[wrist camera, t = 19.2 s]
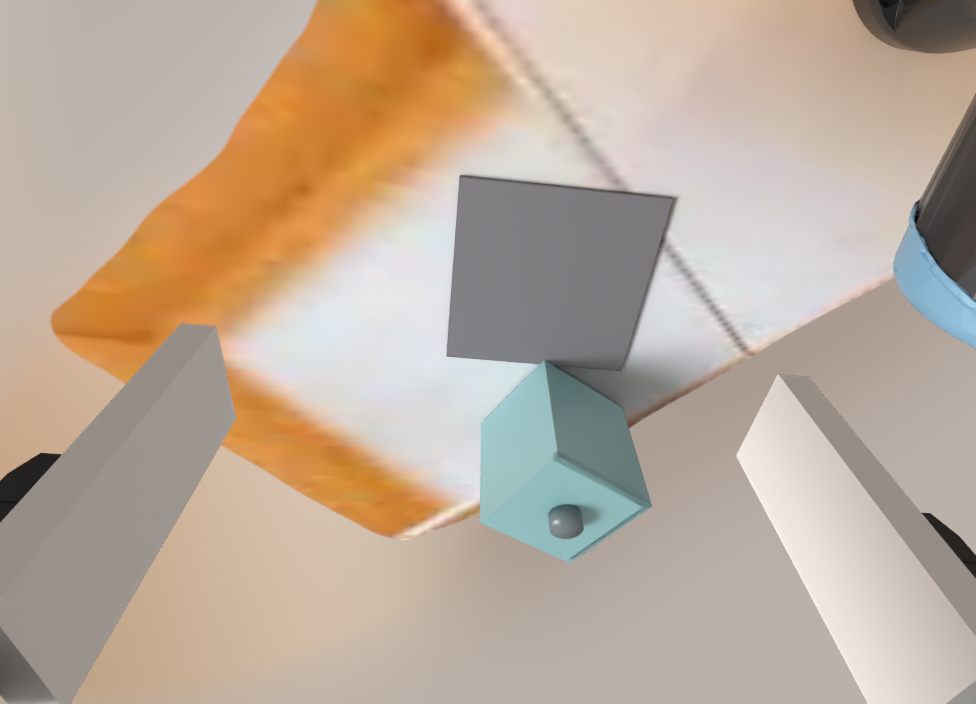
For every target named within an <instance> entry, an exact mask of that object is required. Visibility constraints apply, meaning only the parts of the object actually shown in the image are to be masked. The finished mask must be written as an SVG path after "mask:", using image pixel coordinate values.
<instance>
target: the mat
mask: <svg viewBox="0 0 976 704" xmlns="http://www.w3.org/2000/svg"><path fill="white" fill-rule="evenodd" d="M672 201H673V199H672V198H670V197H660V196H651V195H641V194H631V193H622V192H612V191H603V190H593V189H583V188H574V187H564V186H554V185H545V184H535V183H526V182H516V181H506V180H497V179H487V178H477V177H468V176H460V178H459V192H458V206H457V219H456V233H455V247H454V260H453V274H452V288H451V301H450V315H449V328H448V342H447V357H459V358H471V359H483V360H495V361H507V362H519V363H531V364H541V363H542V362H543V361H544V360H545V361H547V362H548V363H550V364H552V365H556V366H568V367H580V368H592V369H604V370H616V371H621V369H622V366H623V362H624V359H625V356H626V353H627V349H628V346H629V343H630V339H631V336H632V333H633V330H634V326H635V323H636V320H637V316H638V313H639V310H640V307H641V303H642V300H643V297H644V293H645V290H646V287H647V284H648V280H649V277H650V274H651V270H652V267H653V264H654V261H655V257H656V254H657V251H658V247H659V244H660V241H661V238H662V234H663V231H664V228H665V224H666V221H667V218H668V215H669V211H670V208H671V205H672Z"/></svg>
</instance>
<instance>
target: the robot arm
mask: <svg viewBox="0 0 976 704" xmlns="http://www.w3.org/2000/svg"><path fill="white" fill-rule="evenodd" d="M853 3H854V6H855V9H856V11H857V13H858V15H859V17H860V19H861V20H862V22H863V24H864V25H865V26H866V28H867V29H868V30H869V31H870V32H871V33H872V34H873V35H874V36H875V37H877V38H878V39H880V40H881V41H882V42H884V43H886V44H888V45H890V46H893V47H896V48H899V49H904V50H909V51H916V52H923V53H951V52H959V51H964V50H968V49H972V48H975V47H976V0H853ZM893 271H894V274H895V277H896V279H897V285H898V287H899V289H900V291H901V292H902V294H903V295H904V297H905V298H906V299H907V300H908V302H909V303H910V304H911V305H912V306H913V307H914V308H915V309H916V310H917V311H918V312H919V313H920V314H922V315H923V316H924V317H925V318H927V319H928V320H929V321H931V322H932V323H933V324H935V325H936V326H937V327H939V328H941V329H943V330H944V331H945V332H947V333H948V334H950V335H952V336H953V337H955V338H957V339H959V340H960V341H962V342H964V343H966V344H968V345H970V346H972V347H974V348H976V94H975V96H974V98H973V100H972V102H971V104H970V105H969V107H968V109H967V111H966V113H965V115H964V117H963V119H962V121H961V123H960V125H959V127H958V128H957V130H956V132H955V134H954V136H953V138H952V140H951V142H950V144H949V146H948V148H947V149H946V151H945V153H944V155H943V157H942V159H941V161H940V163H939V165H938V167H937V169H936V170H935V172H934V174H933V176H932V178H931V180H930V182H929V184H928V186H927V188H926V190H925V192H924V193H923V195H922V197H921V199H920V200H918V201H917V202H916V203H915V204H914V206H913V208H912V210H911V213H910V217H909V226H908V228H907V230H906V233H905V235H904V237H903V239H902V242H901V244H900V246H899V248H898V250H897V253H896V255H895V258H894V263H893ZM235 420H236V415H235V410H234V406H233V401H232V397H231V392H230V387H229V383H228V378H227V374H226V369H225V364H224V360H223V355H222V350H221V346H220V341H219V337H218V332H217V327H216V326H207V325H195V324H183V323H181V324H180V325H179V326H178V327H177V329H176V330H175V331H174V332H173V333H172V334H171V335H170V336H169V337H168V338H167V340H166V341H165V342H164V343H163V344H162V345H161V346H160V347H159V348H158V349H157V351H156V352H155V353H154V354H153V355H152V356H151V357H150V358H149V359H148V361H147V362H146V363H145V364H144V365H143V366H142V367H141V368H140V369H139V370H138V372H137V373H136V374H135V375H134V376H133V377H132V378H131V379H130V380H129V381H128V383H127V384H126V385H125V386H124V387H123V388H122V389H121V390H120V391H119V393H118V394H117V395H116V396H115V397H114V398H113V399H112V400H111V401H110V402H109V404H108V405H107V406H106V407H105V408H104V409H103V410H102V411H101V413H99V415H98V416H97V417H96V418H95V419H94V420H93V421H92V422H91V423H90V424H89V426H88V427H87V428H86V429H85V430H84V431H83V432H82V433H81V434H80V435H79V437H78V438H77V439H76V440H75V441H74V442H73V443H72V444H71V445H70V446H69V448H68V449H67V450H66V451H65V452H64V453H63V454H48V453H40V454H38V455H37V456H35V457H33V458H32V459H30V460H29V461H27V462H25V463H24V464H22V465H21V466H19V467H17V468H16V469H14V470H13V471H11V472H9V473H8V474H7V475H6V476H5V477H4V478H3V479H2V480H1V481H0V695H1V697H2V698H3V699H4V700H5V701H6V702H7V703H8V704H71V702H72V700H73V699H74V697H75V695H76V693H77V692H78V690H79V688H80V687H81V685H82V683H83V681H84V680H85V678H86V676H87V675H88V673H89V671H90V669H91V668H92V666H93V664H94V662H95V661H96V659H97V657H98V656H99V654H100V652H101V650H102V649H103V647H104V645H105V643H106V642H107V640H108V638H109V636H110V635H111V633H112V631H113V629H114V628H115V626H116V624H117V623H118V621H119V619H120V618H121V616H122V614H123V613H124V611H125V609H126V607H127V606H128V604H129V602H130V600H131V599H132V597H133V595H134V594H135V592H136V590H137V588H138V587H139V585H140V583H141V582H142V580H143V578H144V576H145V574H146V573H147V571H148V569H149V568H150V566H151V564H152V563H153V561H154V559H155V557H156V555H157V554H158V552H159V550H160V548H161V547H162V545H163V544H164V542H165V540H166V538H167V537H168V535H169V533H170V531H171V530H172V528H173V526H174V525H175V523H176V521H177V520H178V518H179V516H180V514H181V513H182V511H183V509H184V507H185V506H186V504H187V502H188V501H189V498H190V497H191V495H192V494H193V492H194V490H195V489H196V487H197V485H198V483H199V481H200V480H201V478H202V476H203V474H204V473H205V471H206V470H207V468H208V466H209V464H210V462H211V461H212V459H213V457H214V456H215V454H216V452H217V450H218V449H219V447H220V445H221V444H222V442H223V440H224V439H225V437H226V435H227V433H228V432H229V430H230V428H231V426H232V425H233V423H234V421H235ZM736 456H737V458H738V460H739V462H740V464H741V466H742V468H743V469H744V471H745V473H746V475H747V477H748V479H749V481H750V483H751V485H752V487H753V488H754V490H755V492H756V494H757V496H758V498H759V500H760V502H761V503H762V505H763V507H764V509H765V511H766V513H767V515H768V516H769V519H770V520H771V522H772V524H773V526H774V528H775V530H776V532H777V534H778V535H779V537H780V539H781V541H782V543H783V544H784V547H785V549H786V551H787V552H788V554H789V556H790V558H791V560H792V561H793V564H794V566H795V567H796V569H797V571H798V573H799V575H800V577H801V579H802V581H803V582H804V584H805V586H806V588H807V590H808V592H809V594H810V595H811V597H812V599H813V601H814V603H815V605H816V607H817V609H818V611H819V613H820V614H821V616H822V618H823V620H824V622H825V624H826V626H827V628H828V630H829V631H830V633H831V635H832V637H833V639H834V641H835V643H836V645H837V647H838V648H839V650H840V652H841V654H842V656H843V658H844V660H845V662H846V663H847V665H848V667H849V669H850V671H851V673H852V675H853V676H854V678H855V680H856V682H857V684H858V686H859V688H860V690H861V692H862V694H863V695H864V697H865V699H866V701H867V703H868V704H976V555H975V554H974V553H973V552H972V550H971V549H970V548H969V547H968V546H967V545H966V544H965V542H964V541H963V540H962V539H961V538H960V537H959V536H958V535H957V534H956V533H954V532H953V531H952V530H951V529H949V528H948V527H947V526H946V525H944V524H943V523H942V522H940V521H939V520H938V519H937V518H936V517H934V516H933V515H932V514H930V513H921V512H920V511H919V509H918V508H917V507H916V506H915V505H914V503H913V502H912V501H911V500H910V499H909V497H908V496H907V495H906V494H905V493H904V491H903V490H902V489H901V488H900V486H899V485H898V484H897V483H896V482H895V481H894V479H893V478H892V477H891V475H890V474H889V473H888V472H887V471H886V469H885V468H884V467H883V466H882V465H881V464H880V462H879V461H878V460H877V459H876V457H875V456H874V455H873V454H872V452H871V451H870V450H869V449H868V448H867V446H866V445H865V444H864V443H863V442H862V440H861V439H860V438H859V437H858V436H857V434H856V433H855V432H854V431H853V429H852V428H851V427H850V426H849V425H848V423H847V422H846V421H845V420H844V419H843V417H842V416H841V415H840V414H839V413H838V411H837V410H836V409H835V408H834V406H833V405H832V404H831V403H830V402H829V401H828V399H827V398H826V397H825V396H824V394H823V393H822V392H821V391H820V390H819V388H818V387H817V386H816V385H815V383H814V382H813V381H812V380H811V379H810V377H809V376H797V375H785V374H778V375H777V377H776V379H775V381H774V383H773V385H772V387H771V389H770V391H769V393H768V395H767V396H766V399H765V400H764V403H763V404H762V406H761V408H760V410H759V412H758V414H757V416H756V418H755V420H754V422H753V424H752V426H751V428H750V430H749V432H748V434H747V436H746V438H745V439H744V441H743V443H742V445H741V447H740V449H739V451H738V453H737V455H736Z"/></svg>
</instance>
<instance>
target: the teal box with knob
mask: <svg viewBox="0 0 976 704" xmlns="http://www.w3.org/2000/svg"><path fill="white" fill-rule="evenodd" d="M650 507H652V504H651V501H650V498H649V494H648V491H647V488H646V484H645V481H644V478H643V475H642V471H641V468H640V464H639V461H638V458H637V455H636V451H635V448H634V444H633V441H632V438H631V434H630V431H629V428H628V424H627V421H626V418H625V414H624V411H623V408H622V407H621V406H619V405H617V404H616V403H614V402H613V401H611V400H609V399H608V398H606V397H604V396H603V395H601V394H599V393H598V392H596V391H594V390H593V389H591V388H590V387H588V386H586V385H585V384H583V383H581V382H580V381H578V380H576V379H575V378H573V377H571V376H570V375H568V374H567V373H565V372H563V371H562V370H560V369H558V368H557V367H555V366H553V365H552V364H550V363H548V362H547V361H545V360H544V361H543V362H542V363H541V364H540V365H539V366H538V367H537V368H536V369H535V370H534V371H533V372H532V373H531V374H530V375H529V376H528V377H527V378H526V379H525V380H524V381H523V382H522V383H521V384H520V385H519V386H518V387H517V388H516V389H515V390H514V391H513V392H512V393H511V394H510V395H509V396H508V397H507V398H506V399H505V400H504V401H503V402H502V403H501V404H500V405H499V406H498V407H497V408H496V409H495V410H494V411H493V412H492V413H491V414H490V415H489V416H488V417H487V418H486V419H485V420H484V421H483V422H482V423H481V481H480V523H481V524H483V525H486V526H488V527H490V528H492V529H495V530H497V531H500V532H501V533H504V534H506V535H508V536H510V537H513V538H515V539H517V540H519V541H522V542H524V543H526V544H529V545H531V546H533V547H535V548H537V549H540V550H542V551H544V552H547V553H549V554H551V555H553V556H556V557H558V558H560V559H562V560H564V561H567V562H569V563H571V562H573V561H574V560H575V559H577V558H578V557H580V556H581V555H583V554H584V553H586V552H587V551H588V550H590V549H591V548H593V547H594V546H596V545H597V544H599V543H600V542H601V541H603V540H604V539H606V538H607V537H609V536H610V535H611V534H613V533H614V532H616V531H617V530H618V529H620V528H622V527H623V526H624V525H626V524H627V523H629V522H630V521H632V520H633V519H635V518H636V517H637V516H638V515H640V514H642V513H643V512H645V511H646V510H647V509H649V508H650Z"/></svg>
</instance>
